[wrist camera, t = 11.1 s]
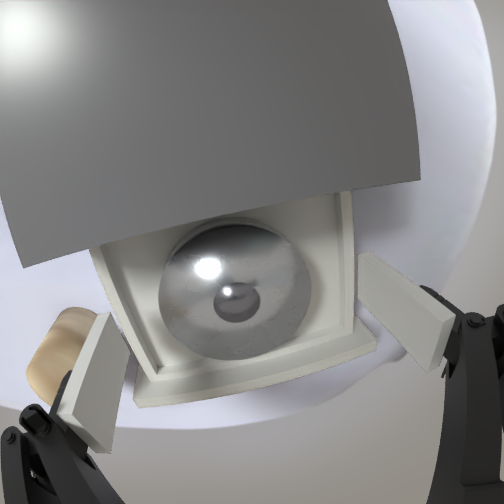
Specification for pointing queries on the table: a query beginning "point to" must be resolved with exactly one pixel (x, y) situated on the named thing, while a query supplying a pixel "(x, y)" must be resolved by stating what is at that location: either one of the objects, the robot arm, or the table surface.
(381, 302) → the robot arm
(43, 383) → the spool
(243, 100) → the housing
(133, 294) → the tray
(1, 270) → the table surface
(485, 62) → the table surface
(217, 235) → the disc
